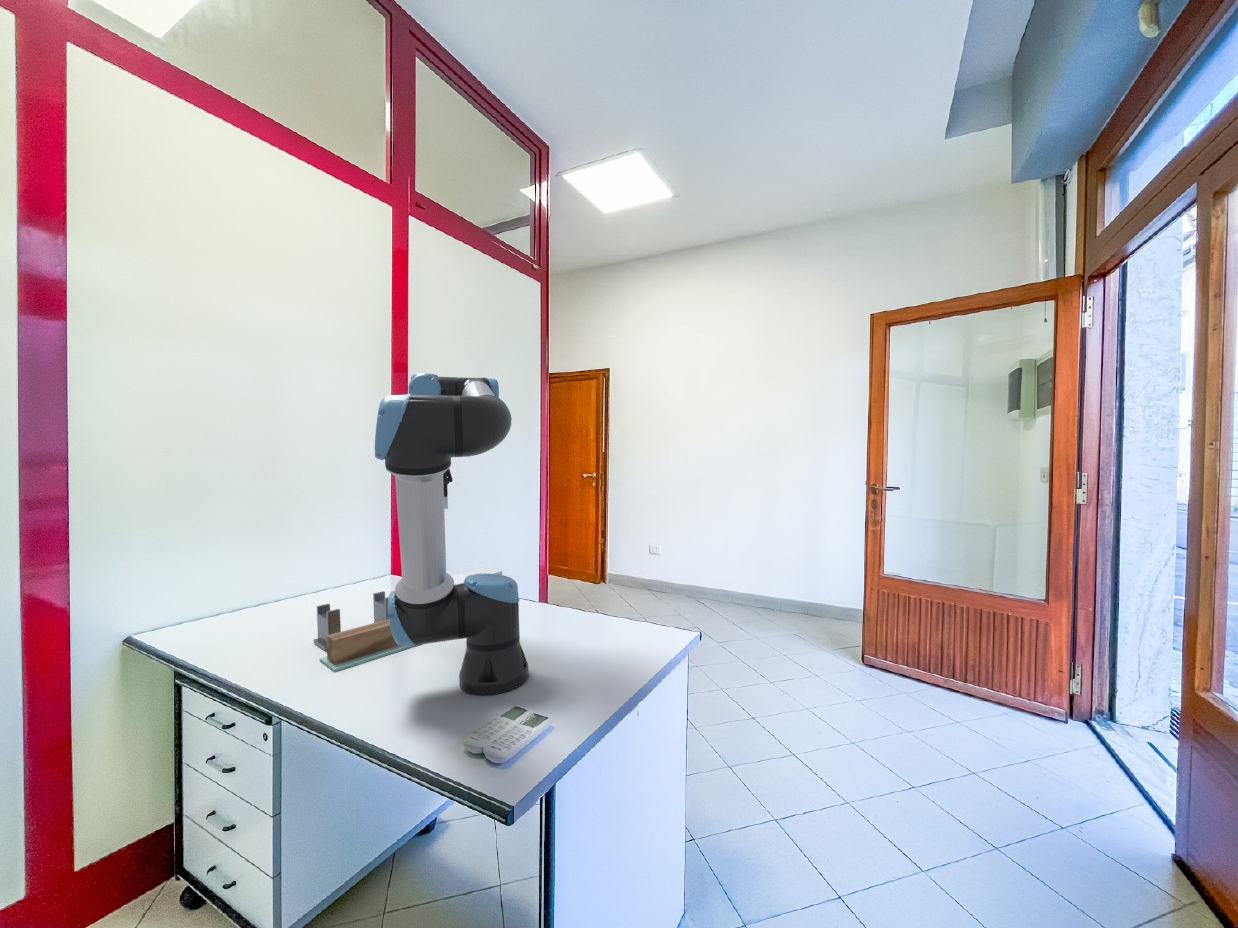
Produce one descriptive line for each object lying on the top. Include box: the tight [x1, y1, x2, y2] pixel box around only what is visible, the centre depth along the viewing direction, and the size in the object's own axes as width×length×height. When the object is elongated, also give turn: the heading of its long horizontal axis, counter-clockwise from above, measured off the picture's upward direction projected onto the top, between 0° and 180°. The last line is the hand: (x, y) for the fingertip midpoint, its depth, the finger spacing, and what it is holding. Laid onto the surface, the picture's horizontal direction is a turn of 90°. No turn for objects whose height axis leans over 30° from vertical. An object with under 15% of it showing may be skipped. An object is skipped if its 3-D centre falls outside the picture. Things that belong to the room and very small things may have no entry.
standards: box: [312, 591, 389, 652], centre depth 140 cm, size 9×20×10 cm, turn 138°
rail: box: [326, 619, 398, 665], centre depth 129 cm, size 5×22×6 cm, turn 138°
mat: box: [319, 645, 415, 673], centre depth 129 cm, size 10×24×1 cm, turn 138°
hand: (429, 507), depth 137 cm, fingers open, 13 cm apart
